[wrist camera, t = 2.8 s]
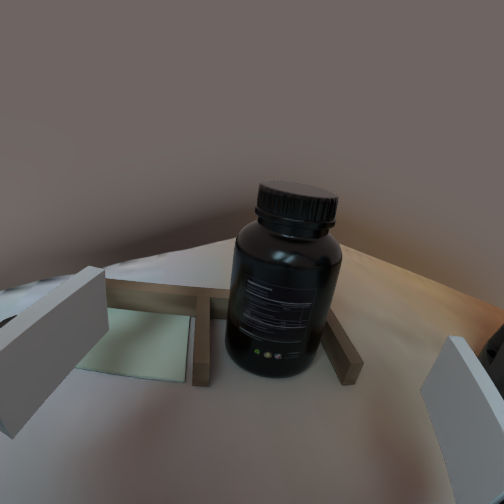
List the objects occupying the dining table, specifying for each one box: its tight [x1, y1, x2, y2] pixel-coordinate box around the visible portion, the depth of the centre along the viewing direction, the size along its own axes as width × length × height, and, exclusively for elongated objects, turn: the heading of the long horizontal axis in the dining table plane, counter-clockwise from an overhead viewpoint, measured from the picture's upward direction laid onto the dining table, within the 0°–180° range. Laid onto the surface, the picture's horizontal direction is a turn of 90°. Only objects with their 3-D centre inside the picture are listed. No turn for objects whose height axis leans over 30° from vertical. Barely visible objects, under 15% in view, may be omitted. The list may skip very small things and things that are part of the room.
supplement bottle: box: [225, 181, 342, 378], centre depth 21 cm, size 7×7×12 cm
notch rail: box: [75, 278, 364, 387], centre depth 22 cm, size 21×10×2 cm, turn 97°
